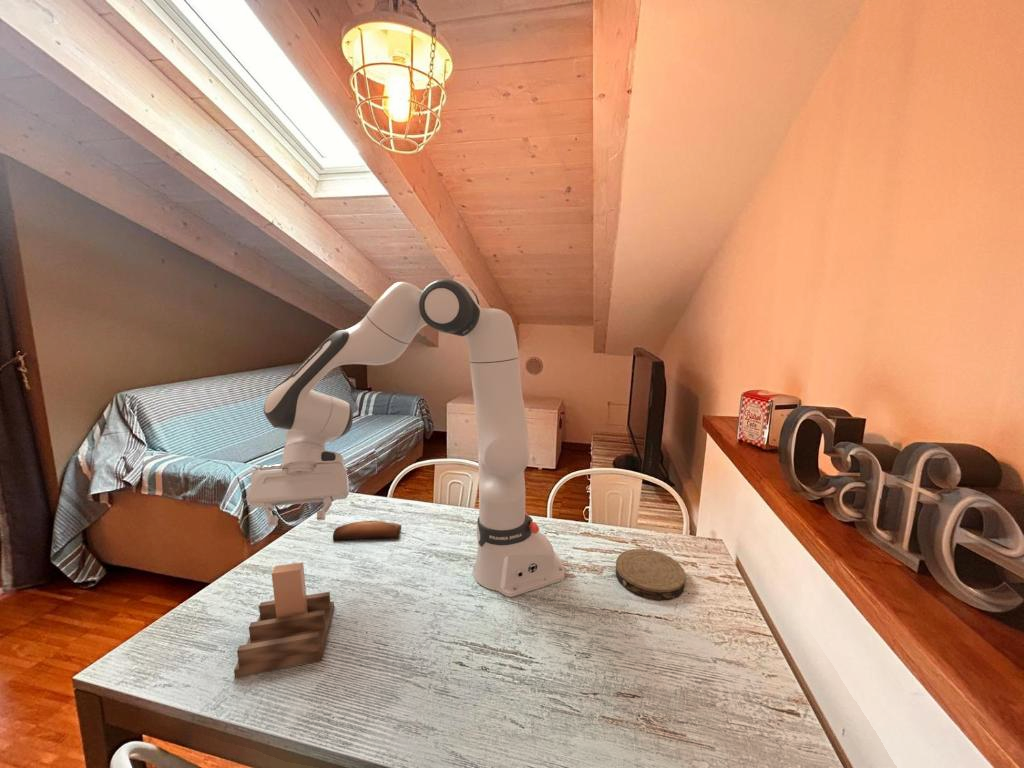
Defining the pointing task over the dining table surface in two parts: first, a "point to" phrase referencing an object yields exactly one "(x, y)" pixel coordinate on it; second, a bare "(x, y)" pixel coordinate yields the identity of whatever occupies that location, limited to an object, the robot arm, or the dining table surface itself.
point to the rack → (286, 637)
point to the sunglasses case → (367, 530)
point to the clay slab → (289, 590)
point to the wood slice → (650, 574)
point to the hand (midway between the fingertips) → (296, 522)
